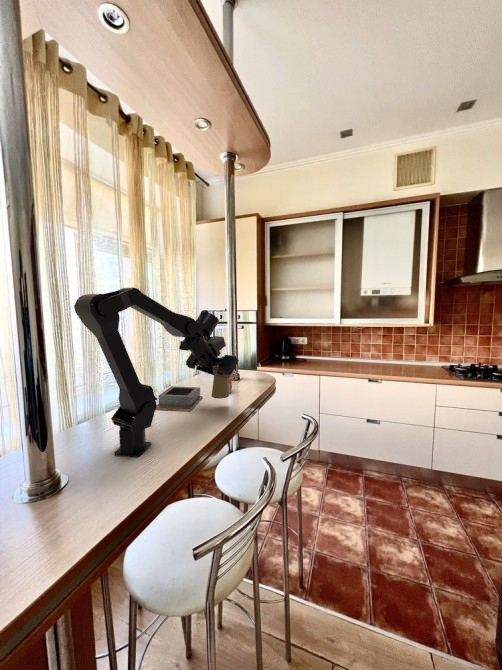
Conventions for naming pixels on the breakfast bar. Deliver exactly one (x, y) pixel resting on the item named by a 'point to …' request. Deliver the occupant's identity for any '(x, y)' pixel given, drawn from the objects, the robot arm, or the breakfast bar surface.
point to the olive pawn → (219, 385)
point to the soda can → (229, 383)
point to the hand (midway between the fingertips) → (222, 376)
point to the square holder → (179, 399)
